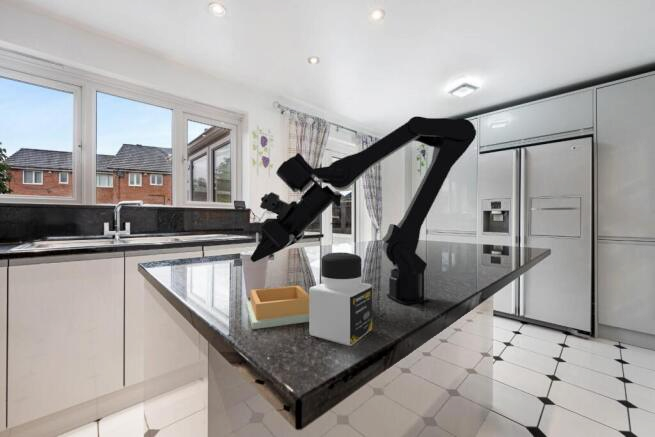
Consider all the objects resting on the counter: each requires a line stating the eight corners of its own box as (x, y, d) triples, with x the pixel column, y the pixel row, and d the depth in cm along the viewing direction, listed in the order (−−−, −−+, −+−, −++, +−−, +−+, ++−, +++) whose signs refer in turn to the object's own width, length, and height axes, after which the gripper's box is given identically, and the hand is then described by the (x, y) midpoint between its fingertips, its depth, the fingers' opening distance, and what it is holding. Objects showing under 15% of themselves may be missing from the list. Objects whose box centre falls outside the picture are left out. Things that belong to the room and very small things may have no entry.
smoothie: (262, 301, 59) (262, 233, 59) (234, 299, 61) (234, 233, 60) (274, 293, 66) (274, 232, 65) (248, 291, 67) (248, 232, 67)
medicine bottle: (351, 347, 38) (350, 258, 38) (308, 335, 42) (308, 254, 42) (372, 329, 44) (372, 252, 44) (333, 320, 48) (333, 249, 48)
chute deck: (340, 296, 63) (340, 280, 63) (366, 313, 51) (366, 294, 51) (246, 306, 56) (246, 288, 56) (252, 329, 44) (252, 306, 44)
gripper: (291, 186, 72) (248, 229, 73) (271, 175, 53) (214, 233, 54) (322, 217, 71) (279, 260, 72) (313, 217, 53) (254, 276, 53)
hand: (259, 257), depth 63 cm, fingers open, 9 cm apart
